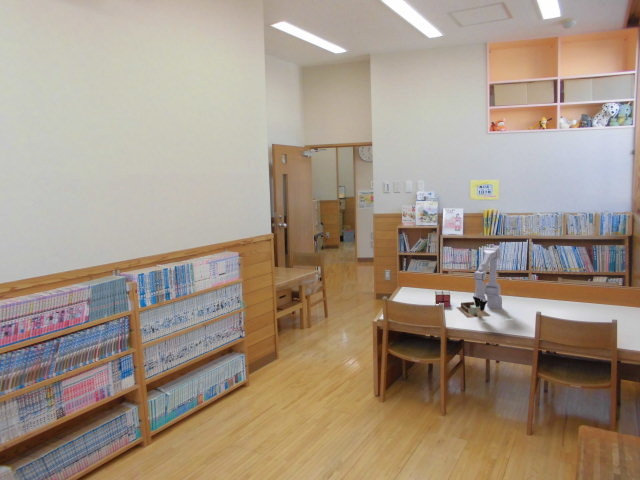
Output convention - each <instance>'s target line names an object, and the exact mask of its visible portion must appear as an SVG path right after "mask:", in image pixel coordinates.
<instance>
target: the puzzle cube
mask: <svg viewBox="0 0 640 480" xmlns="http://www.w3.org/2000/svg"><path fill="white" fill-rule="evenodd" d="M434 298H435V302H434V303H435V305H436V304H439V303H444V306H445V307H444V308H450V307H451V293H450V291H449V290H435V297H434Z"/></svg>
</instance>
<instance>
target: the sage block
mask: <svg viewBox="0 0 640 480" xmlns="http://www.w3.org/2000/svg"><path fill="white" fill-rule="evenodd" d="M470 313H471V314H473V315H476V314H478V317H477V318H483V317H482V311H481V310H480V306H479V307H476V305H470Z"/></svg>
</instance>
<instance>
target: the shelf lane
mask: <svg viewBox="0 0 640 480" xmlns="http://www.w3.org/2000/svg"><path fill="white" fill-rule="evenodd" d="M470 305H475V301H465V302H464V301H463V302H460V306H459V307H458V306H456V307H455V309H457V310H458V311H459V312H460V313H462V314H463V315H464V316H465V317H466V318H479V317H478V314H476V315H473V314H471V313H470ZM483 317H491V315H490V314H489V313H488V312H486V311H485V310H484V311H482V317H481V318H483Z"/></svg>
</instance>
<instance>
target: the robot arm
mask: <svg viewBox="0 0 640 480" xmlns="http://www.w3.org/2000/svg"><path fill="white" fill-rule="evenodd" d="M482 253H483V261H482V262H481V263H479V266H478V268H477V271H474V273H473V280H474V283H475V292H474V293H473V296H472V299H473V302H474V304H475V305H476V307H480V310H481V311H485V308H486V306H487V308H489V309H500V310H501V309H503V298H502V295H501V291H502V289H501V285H500V284H499V283H498V281H497V278H498V277H497V276H498V275H497V273H498V269H497V268H498V260H500V258H501V249H500V248H497V247H486V246H485V247H484V248H483V252H482ZM488 271H489V275H488V277H489V279H488V282H486V279H487V278H486V277H487V272H488ZM485 282H486V283H485Z"/></svg>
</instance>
